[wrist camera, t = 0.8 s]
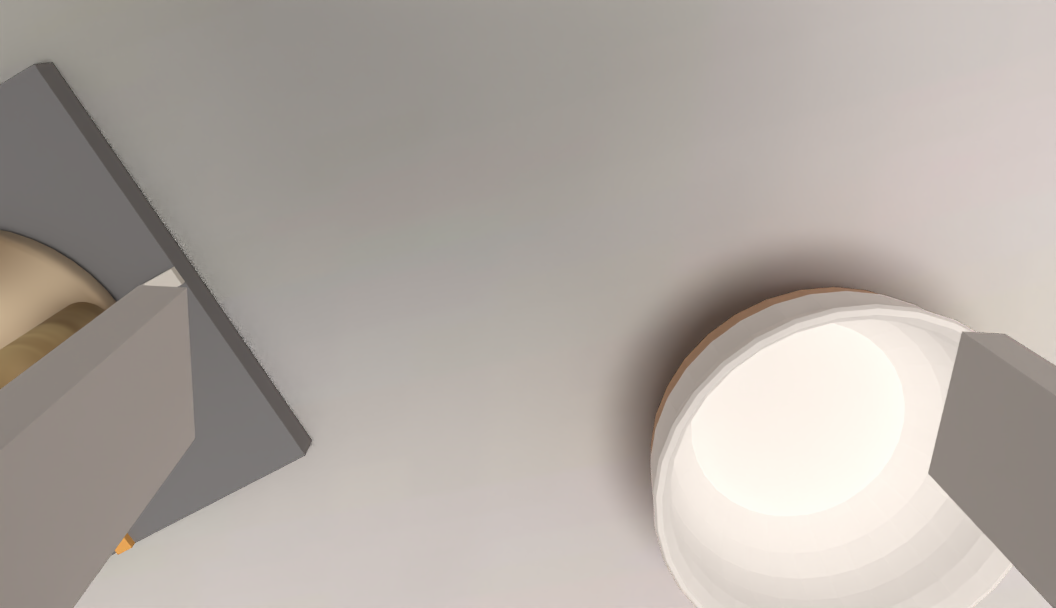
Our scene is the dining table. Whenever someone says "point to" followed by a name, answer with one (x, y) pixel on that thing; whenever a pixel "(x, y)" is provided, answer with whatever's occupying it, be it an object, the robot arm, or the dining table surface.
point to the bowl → (816, 461)
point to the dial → (41, 302)
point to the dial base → (129, 261)
